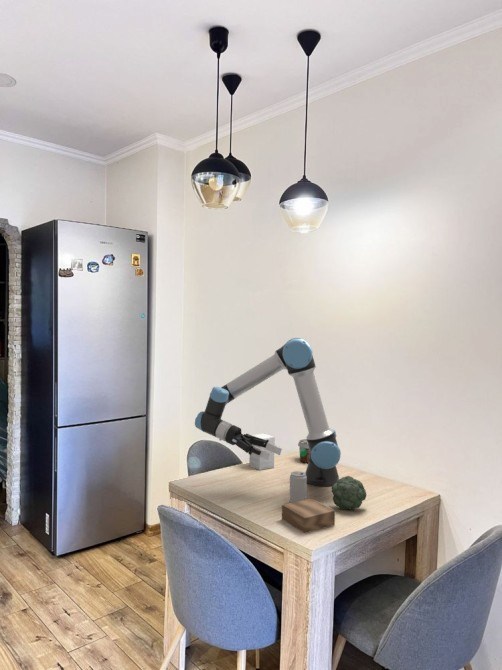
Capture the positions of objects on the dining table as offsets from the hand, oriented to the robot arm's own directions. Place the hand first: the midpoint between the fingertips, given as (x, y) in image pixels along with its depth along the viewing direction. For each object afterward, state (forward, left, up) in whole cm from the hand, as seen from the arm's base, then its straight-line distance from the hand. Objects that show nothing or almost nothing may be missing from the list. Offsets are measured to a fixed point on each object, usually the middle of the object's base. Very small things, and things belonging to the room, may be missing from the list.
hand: (274, 454), depth 188 cm
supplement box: (-19, -38, -18) cm, 46 cm away
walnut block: (+2, +24, -17) cm, 30 cm away
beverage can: (-5, +9, -18) cm, 21 cm away
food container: (-43, -36, -18) cm, 58 cm away
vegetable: (-20, +20, -18) cm, 33 cm away
